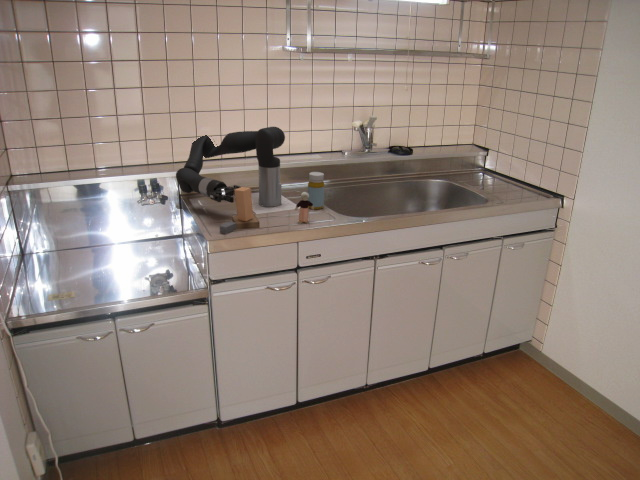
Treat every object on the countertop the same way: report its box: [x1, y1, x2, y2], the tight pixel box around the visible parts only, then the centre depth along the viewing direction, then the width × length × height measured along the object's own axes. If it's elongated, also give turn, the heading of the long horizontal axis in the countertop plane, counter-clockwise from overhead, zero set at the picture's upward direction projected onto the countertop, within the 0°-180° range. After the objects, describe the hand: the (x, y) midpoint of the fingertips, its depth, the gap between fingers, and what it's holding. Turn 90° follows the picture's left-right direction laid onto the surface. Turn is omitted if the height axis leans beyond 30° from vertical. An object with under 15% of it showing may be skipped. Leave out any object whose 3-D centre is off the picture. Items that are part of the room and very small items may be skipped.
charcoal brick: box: [219, 220, 236, 235], centre depth 196 cm, size 3×6×3 cm, turn 149°
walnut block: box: [231, 213, 260, 231], centre depth 203 cm, size 9×9×3 cm
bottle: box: [307, 171, 325, 211], centre depth 223 cm, size 7×7×15 cm
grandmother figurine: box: [294, 191, 315, 225], centre depth 206 cm, size 8×4×13 cm, turn 114°
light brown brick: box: [234, 186, 254, 221], centre depth 200 cm, size 4×4×12 cm
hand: (241, 197), depth 201 cm, fingers open, 8 cm apart
